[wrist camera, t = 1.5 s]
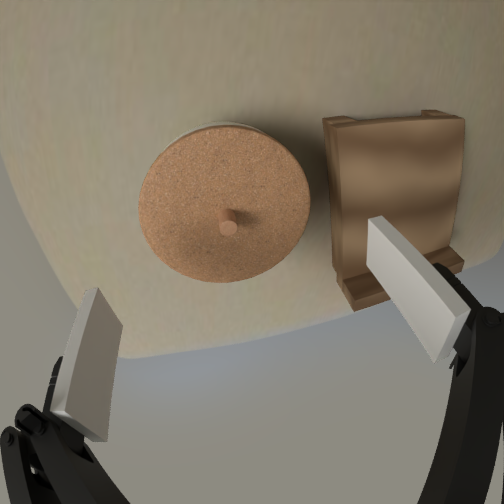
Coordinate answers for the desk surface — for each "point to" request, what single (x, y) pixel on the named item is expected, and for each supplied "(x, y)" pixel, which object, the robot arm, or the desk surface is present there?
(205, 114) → the desk surface
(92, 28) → the desk surface
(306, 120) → the desk surface
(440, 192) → the wooden stand
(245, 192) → the lidded jar
